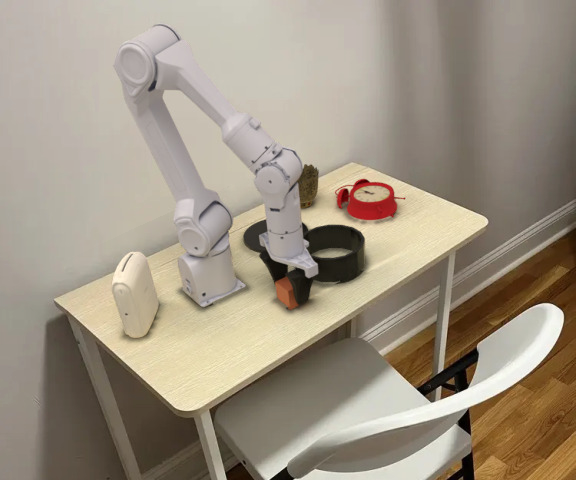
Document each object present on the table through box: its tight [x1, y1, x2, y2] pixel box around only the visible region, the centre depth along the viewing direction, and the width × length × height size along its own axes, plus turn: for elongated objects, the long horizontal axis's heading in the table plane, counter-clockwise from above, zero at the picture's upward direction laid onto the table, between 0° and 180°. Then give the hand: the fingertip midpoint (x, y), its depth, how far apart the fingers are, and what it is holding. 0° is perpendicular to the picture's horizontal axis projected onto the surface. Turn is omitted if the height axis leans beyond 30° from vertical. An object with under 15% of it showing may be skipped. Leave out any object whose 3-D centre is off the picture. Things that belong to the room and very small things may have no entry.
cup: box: [295, 163, 320, 209], centre depth 144 cm, size 8×7×8 cm
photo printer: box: [110, 251, 160, 339], centre depth 117 cm, size 10×4×12 cm, turn 172°
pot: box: [303, 224, 366, 285], centre depth 127 cm, size 12×12×5 cm
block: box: [274, 277, 300, 311], centre depth 120 cm, size 4×4×4 cm
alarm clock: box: [334, 178, 406, 221], centre depth 142 cm, size 10×6×15 cm
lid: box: [242, 218, 309, 253], centre depth 136 cm, size 13×13×5 cm
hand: (292, 294), depth 120 cm, fingers open, 6 cm apart
